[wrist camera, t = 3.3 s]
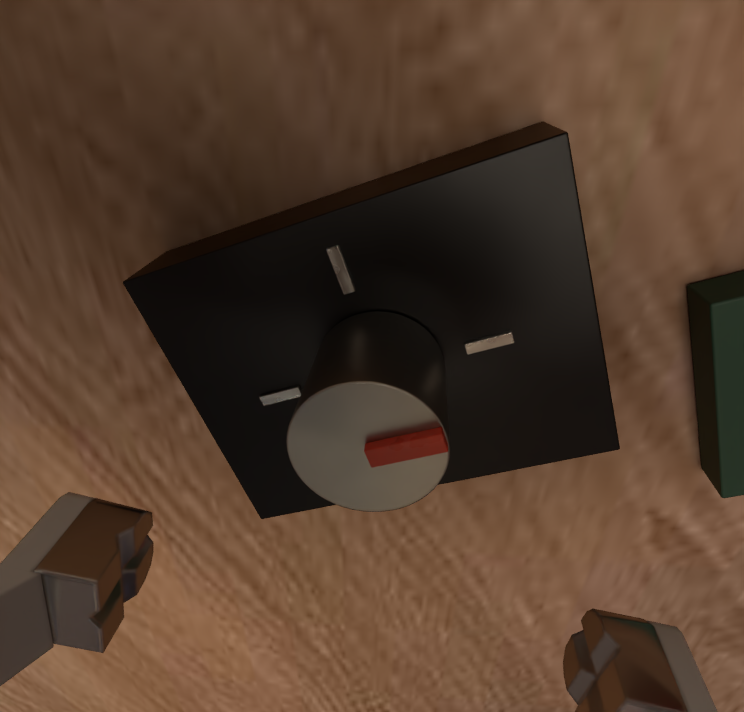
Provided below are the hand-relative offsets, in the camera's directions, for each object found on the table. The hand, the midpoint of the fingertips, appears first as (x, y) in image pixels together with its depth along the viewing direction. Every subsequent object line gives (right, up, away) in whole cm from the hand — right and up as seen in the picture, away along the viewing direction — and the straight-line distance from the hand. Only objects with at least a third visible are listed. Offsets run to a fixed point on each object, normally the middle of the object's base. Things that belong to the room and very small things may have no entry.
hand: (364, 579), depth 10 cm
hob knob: (0, +4, +7) cm, 8 cm away
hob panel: (+1, +5, +9) cm, 11 cm away
